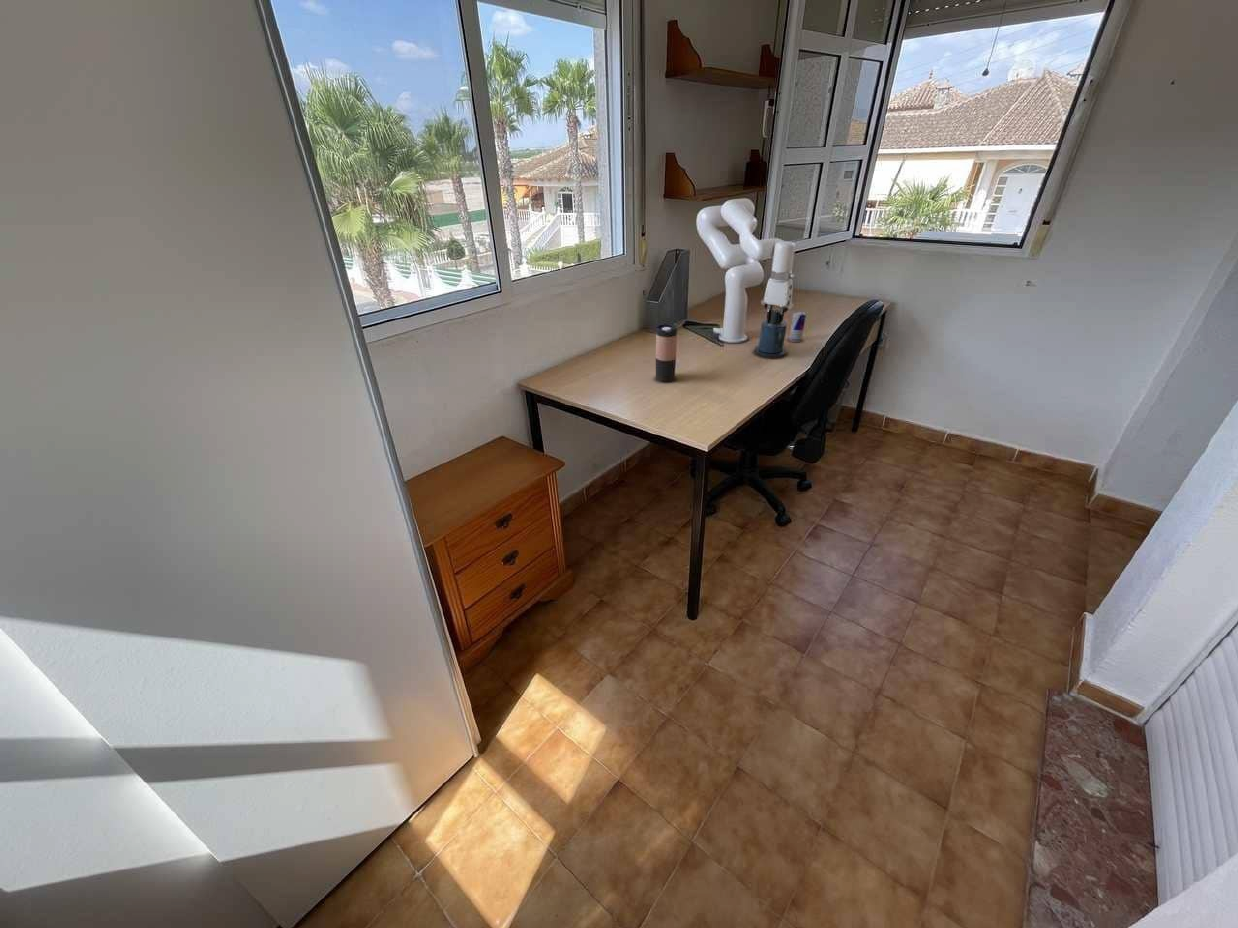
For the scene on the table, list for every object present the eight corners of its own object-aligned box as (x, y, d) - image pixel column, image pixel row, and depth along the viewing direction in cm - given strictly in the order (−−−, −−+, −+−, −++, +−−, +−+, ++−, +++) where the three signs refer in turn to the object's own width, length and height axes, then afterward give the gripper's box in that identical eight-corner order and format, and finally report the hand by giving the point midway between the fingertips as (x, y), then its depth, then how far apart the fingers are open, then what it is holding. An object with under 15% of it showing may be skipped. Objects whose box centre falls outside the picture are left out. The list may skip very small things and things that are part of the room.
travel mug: (662, 373, 204) (664, 322, 193) (679, 378, 200) (681, 326, 189) (651, 379, 199) (652, 328, 188) (667, 384, 195) (669, 332, 184)
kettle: (752, 344, 226) (756, 307, 217) (773, 342, 227) (779, 305, 219) (767, 356, 213) (772, 317, 204) (790, 354, 214) (796, 316, 206)
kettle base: (752, 356, 218) (752, 353, 217) (756, 346, 228) (756, 343, 227) (784, 360, 214) (785, 356, 213) (787, 349, 224) (787, 346, 223)
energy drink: (801, 342, 231) (806, 315, 225) (789, 341, 232) (793, 315, 226) (800, 338, 236) (805, 312, 230) (788, 338, 237) (792, 311, 230)
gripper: (805, 276, 202) (797, 323, 212) (765, 271, 211) (759, 316, 221) (797, 280, 197) (789, 328, 207) (757, 274, 206) (751, 320, 216)
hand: (774, 321), depth 214 cm, fingers closed on kettle, 3 cm apart
